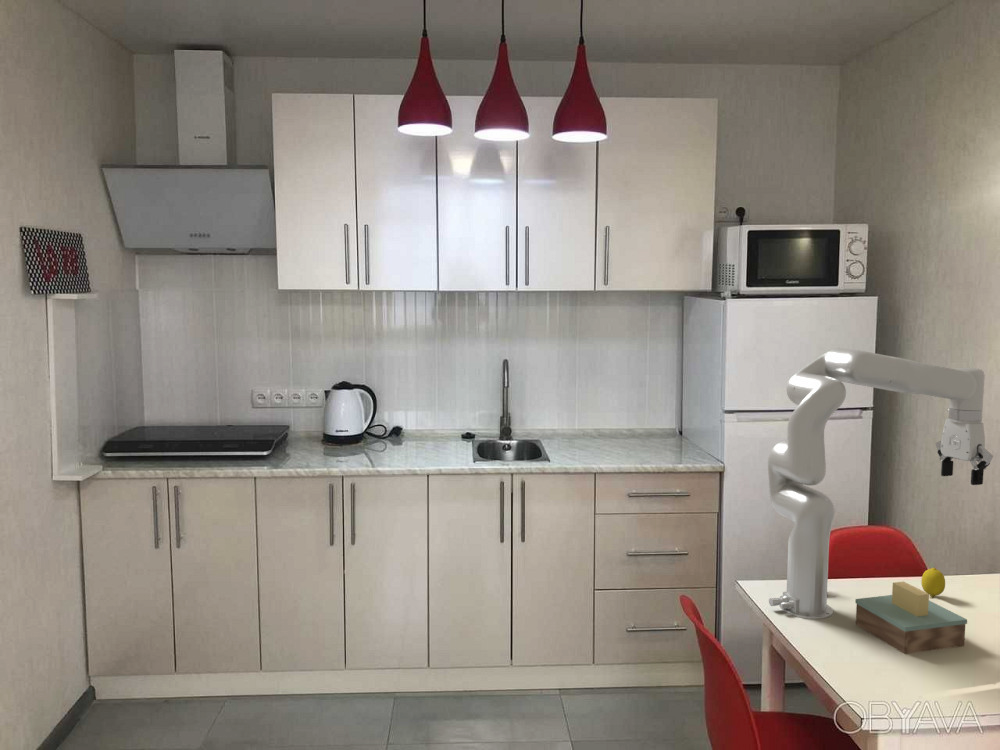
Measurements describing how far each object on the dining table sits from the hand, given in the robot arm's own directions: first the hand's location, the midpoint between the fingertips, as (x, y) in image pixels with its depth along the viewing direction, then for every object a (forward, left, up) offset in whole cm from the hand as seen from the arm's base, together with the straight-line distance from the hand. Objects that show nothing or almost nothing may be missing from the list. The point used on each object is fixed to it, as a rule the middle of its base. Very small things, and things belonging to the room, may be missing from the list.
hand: (961, 480), depth 207 cm
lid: (-31, -19, -25) cm, 44 cm away
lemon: (-7, 0, -31) cm, 32 cm away
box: (-31, -19, -31) cm, 48 cm away
